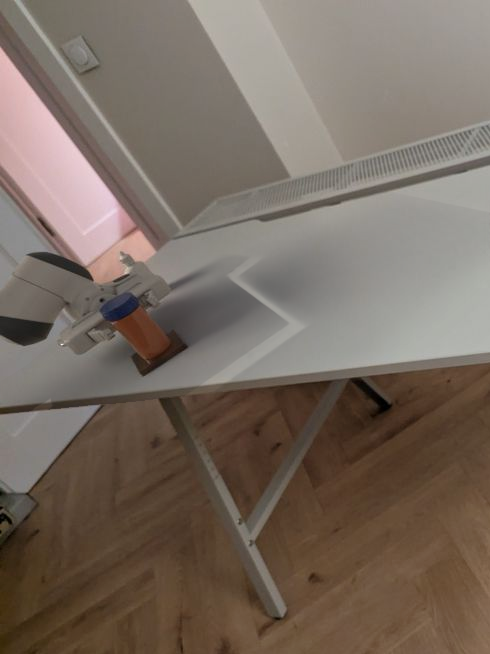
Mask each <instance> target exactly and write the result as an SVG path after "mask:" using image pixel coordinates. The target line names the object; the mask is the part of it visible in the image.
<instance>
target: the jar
mask: <svg viewBox="0 0 490 654" xmlns="http://www.w3.org/2000/svg"><path fill="white" fill-rule="evenodd" d="M110 323H111V325H112V326H113V327H114V328H115V329H116V330H117V331H116V332H117V333H119V335H120V336H121V337H122V338H123V339H124V340H125V341H126V343H128V344H129V346H130V347H131V348H132V349H133V350H134V351H135V353H136V352H137V353H138V354H139V355H140V356H141V358H142V359H144V360H148V359H151V358H154V357H156V356H158V355H160V354H161V353H162V352H164V351H165V350H166V349H167V348H168V347H169V346H170V344H171V340H170V339H169V338H168V336H167V335H166V332H165V331H164V330H163V329H162V327H161V326H159V324H158V323H157V322H156V321H155V319H153V317H152V316H151V315H150V313H149V312H148V311H147V310H145V309H144V308H143V307H142V305H141V304H140V303H139V305H138V306H137V308H136V309H135V310H133V311H132V312H131V313H129V314H128V315H126V316H125V317H123V318H121V319H119V320H116V321H112V322H110Z"/></svg>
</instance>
